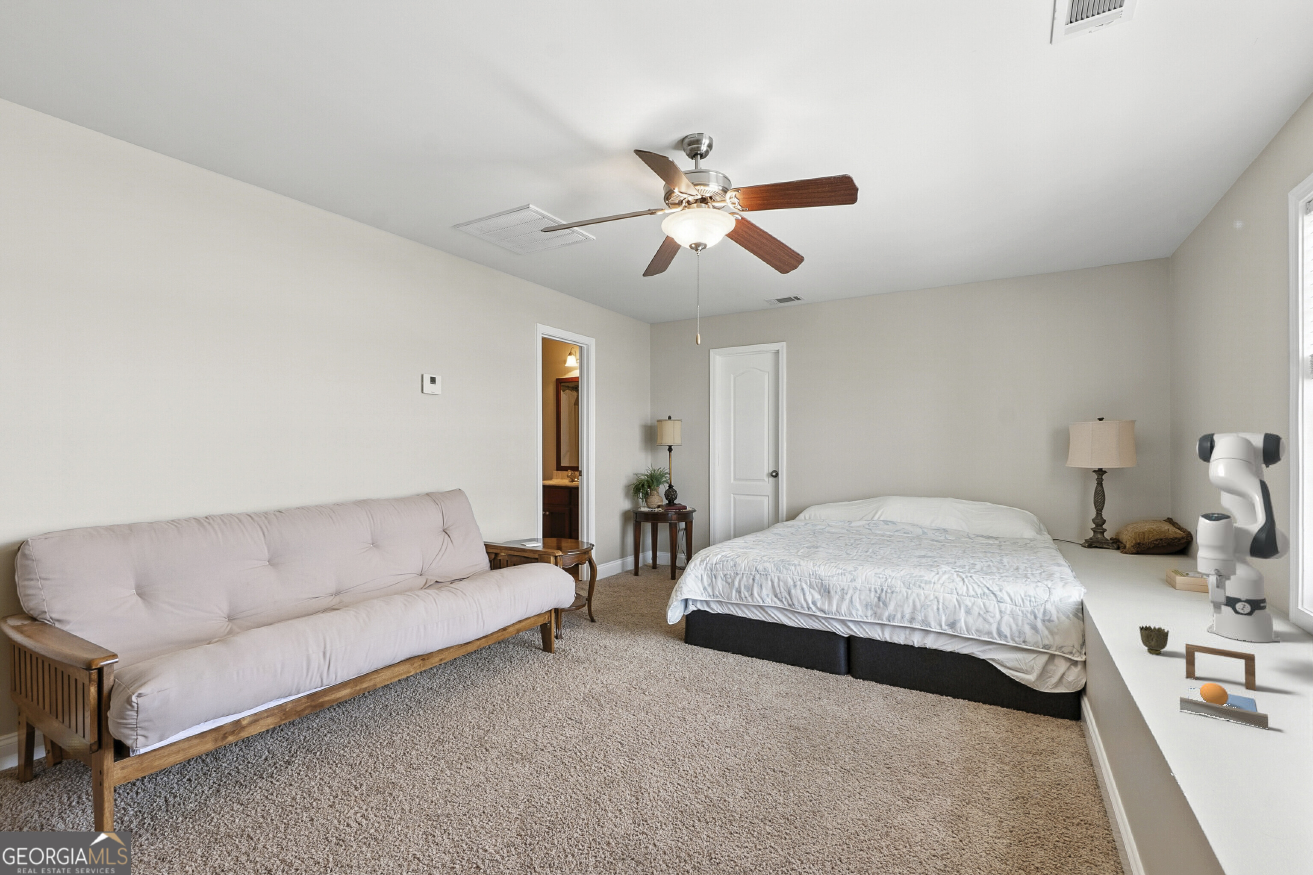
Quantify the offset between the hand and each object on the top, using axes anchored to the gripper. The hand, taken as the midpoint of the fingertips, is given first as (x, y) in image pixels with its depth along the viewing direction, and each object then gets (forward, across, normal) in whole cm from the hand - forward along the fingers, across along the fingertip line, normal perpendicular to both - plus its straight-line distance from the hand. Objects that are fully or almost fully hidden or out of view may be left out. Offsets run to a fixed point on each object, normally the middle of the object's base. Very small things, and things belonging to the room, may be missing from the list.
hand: (1217, 612), depth 189 cm
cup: (+16, +2, +15) cm, 22 cm away
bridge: (+16, -17, 0) cm, 23 cm away
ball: (+13, -38, +1) cm, 40 cm away
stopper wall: (+16, -47, 0) cm, 50 cm away
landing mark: (+16, -33, 0) cm, 37 cm away
